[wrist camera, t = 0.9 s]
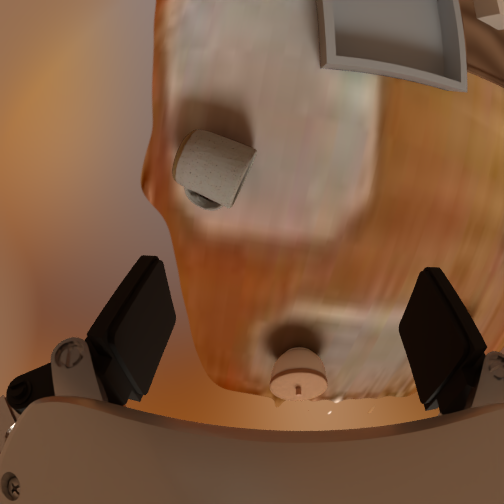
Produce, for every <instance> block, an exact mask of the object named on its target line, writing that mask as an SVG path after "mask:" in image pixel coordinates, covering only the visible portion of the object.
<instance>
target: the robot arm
mask: <svg viewBox="0 0 504 504" xmlns="http://www.w3.org/2000/svg"><path fill="white" fill-rule="evenodd" d="M175 321H176V315H175V311H174V307H173V303H172V299H171V295H170V290H169V286H168V282H167V278H166V273H165V269H164V264H163V262H162V261H161V260H159V258H158V257H157V256H144V255H143V256H141V257H140V258H139V259H138V261H137V262H136V263H135V265H134V266H133V267H132V269H131V270H130V271H129V273H128V274H127V276H126V277H125V278H124V280H123V281H122V283H121V284H120V285H119V287H118V288H117V290H116V291H115V292H114V294H113V295H112V297H111V298H110V300H109V301H108V303H107V304H106V305H105V307H104V308H103V310H102V312H101V313H100V315H99V316H98V317H97V319H96V321H95V322H94V324H93V325H92V327H91V328H90V330H89V331H88V333H87V338H86V339H85V341H84V340H83V339H80V338H75V337H72V338H68V339H66V340H63V341H61V343H59V344H58V345H57V346H56V347H55V349H54V350H53V352H52V355H51V363H48V364H46V365H44V366H41V367H39V368H37V369H34V370H32V371H30V372H27V373H25V374H23V375H20V376H18V377H16V378H15V379H14V380H13V381H12V382H11V383H10V385H9V386H8V389H7V396H6V397H5V396H4V395H3V396H1V397H0V504H504V355H503V354H502V353H500V352H496V351H492V352H489V353H488V354H487V355H486V356H485V354H484V351H485V350H486V348H487V346H486V344H485V342H484V340H483V338H482V336H481V334H480V332H479V330H478V328H477V327H476V325H475V323H474V321H473V319H472V318H471V316H470V314H469V313H468V311H467V309H466V307H465V306H464V304H463V302H462V301H461V299H460V298H459V296H458V294H457V293H456V291H455V290H454V288H453V287H452V285H451V283H450V282H449V280H448V279H447V277H446V276H445V274H444V273H443V272H442V270H441V269H440V268H437V267H426V268H425V269H424V270H423V271H421V272H420V274H419V276H418V279H417V282H416V284H415V287H414V290H413V292H412V295H411V297H410V300H409V302H408V305H407V307H406V310H405V312H404V315H403V317H402V319H401V321H400V324H399V333H400V336H401V339H402V342H403V345H404V348H405V351H406V354H407V357H408V360H409V364H410V367H411V370H412V374H413V377H414V380H415V384H416V388H417V391H418V395H419V398H420V401H421V403H422V404H424V407H425V410H426V411H427V410H432V409H436V408H438V407H439V410H440V413H439V415H438V416H436V417H432V418H427V419H422V420H417V421H412V422H406V423H400V424H394V425H387V426H380V427H371V428H360V429H349V430H330V431H275V430H257V429H245V428H234V427H226V426H218V425H210V424H204V423H197V422H191V421H186V420H180V419H175V418H171V417H165V416H161V415H156V414H152V413H147V412H143V411H139V410H135V409H131V408H127V407H126V405H125V404H126V403H127V400H128V399H132V400H135V401H139V402H140V401H141V398H142V396H143V395H146V394H147V393H148V390H149V388H150V385H151V383H152V380H153V377H154V375H155V372H156V370H157V367H158V365H159V362H160V359H161V357H162V354H163V352H164V349H165V347H166V345H167V342H168V340H169V337H170V335H171V332H172V330H173V327H174V325H175Z"/></svg>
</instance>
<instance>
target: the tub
mask: <svg viewBox="0 0 504 504" xmlns="http://www.w3.org/2000/svg"><path fill="white" fill-rule="evenodd" d="M316 3H317V15H318V28H319V44H320V65H321V68H323V69H336V70H347V71H355V72H363V73H370V74H377V75H383V76H388V77H394V78H399V79H404V80H408V81H413V82H417V83H421V84H425V85H429V86H433V87H437V88H440V89H444V90H447V91H459V92H467V64H466V50H465V39H464V31H463V24H462V17H461V12H460V6H459V1H458V0H316Z"/></svg>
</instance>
